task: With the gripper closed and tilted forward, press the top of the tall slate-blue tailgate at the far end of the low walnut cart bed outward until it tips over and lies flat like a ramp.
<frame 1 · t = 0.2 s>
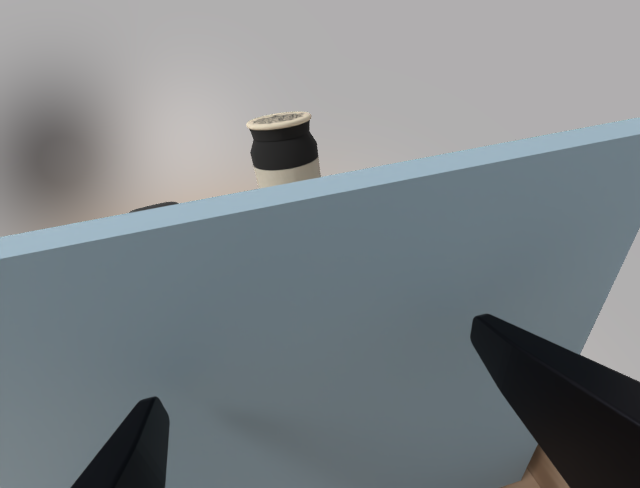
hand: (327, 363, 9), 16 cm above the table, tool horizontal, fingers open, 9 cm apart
tailgate: (302, 434, 12), point 11 cm above the table, hinge at 0.0°
travel mug: (301, 250, 45), on the table
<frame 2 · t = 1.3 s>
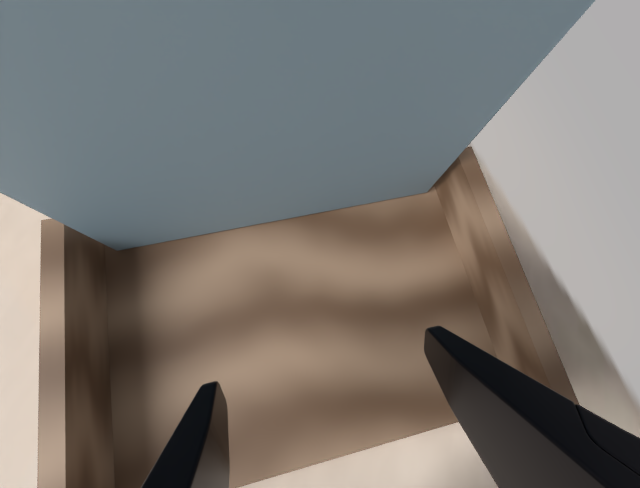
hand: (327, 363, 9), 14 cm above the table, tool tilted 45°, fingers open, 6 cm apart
tailgate: (269, 123, 14), point 11 cm above the table, hinge at 0.0°
cart bed: (302, 319, 22), on the table
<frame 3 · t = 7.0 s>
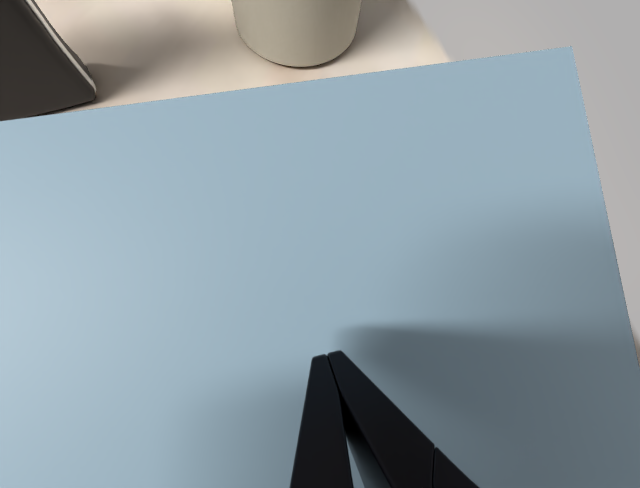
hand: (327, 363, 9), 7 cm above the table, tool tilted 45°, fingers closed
battery charger: (38, 94, 18), on the table
tailgate: (325, 380, 11), point 4 cm above the table, hinge at 74.7°
travel mug: (296, 26, 21), on the table
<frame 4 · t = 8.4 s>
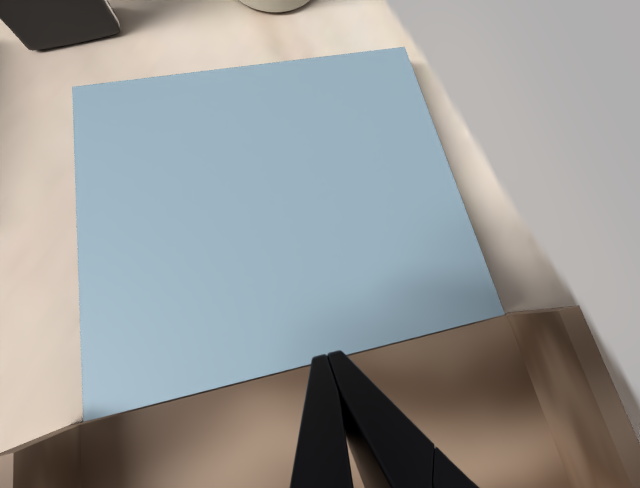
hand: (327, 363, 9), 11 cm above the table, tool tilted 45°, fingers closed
battery charger: (76, 29, 24), on the table
tailgate: (278, 198, 20), point 2 cm above the table, hinge at 90.2°
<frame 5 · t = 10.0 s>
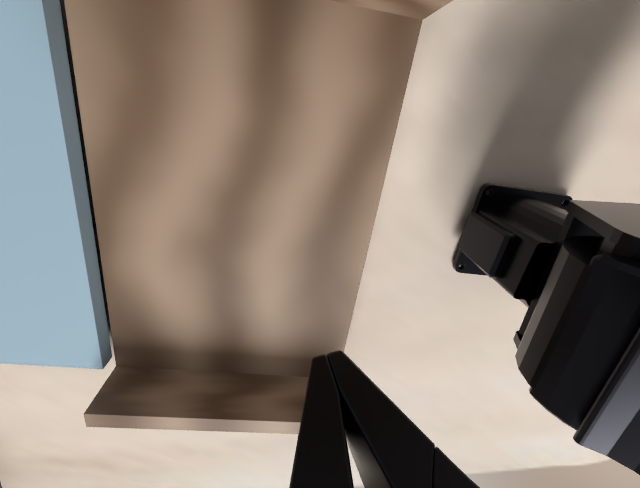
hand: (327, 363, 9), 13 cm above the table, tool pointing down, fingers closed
cart bed: (241, 221, 21), on the table
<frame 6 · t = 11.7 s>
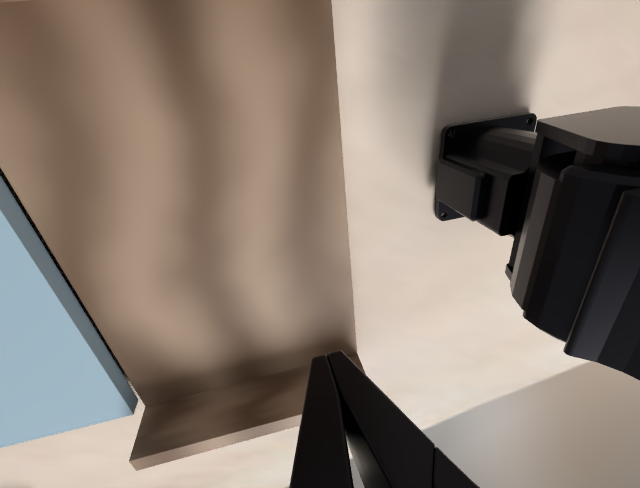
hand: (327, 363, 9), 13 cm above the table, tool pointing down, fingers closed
cart bed: (215, 237, 20), on the table
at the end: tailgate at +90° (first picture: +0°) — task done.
